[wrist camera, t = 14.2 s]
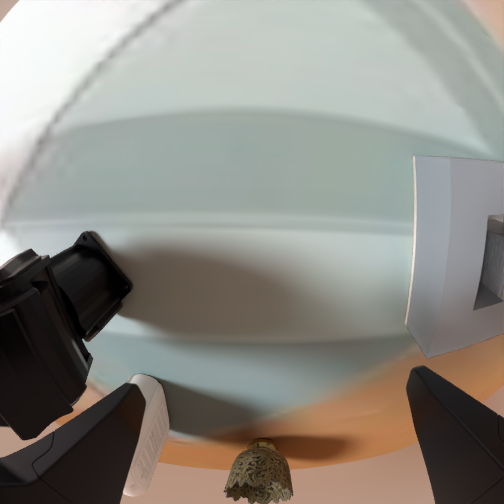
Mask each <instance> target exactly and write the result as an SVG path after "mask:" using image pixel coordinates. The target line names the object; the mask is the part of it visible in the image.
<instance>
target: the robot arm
mask: <svg viewBox="0 0 504 504" xmlns="http://www.w3.org/2000/svg"><path fill="white" fill-rule="evenodd" d="M85 236H86V237H87V239H86V237H85ZM125 285H127V286H128V288H127V287H126V286H125ZM132 289H133V285H132V283H131V282H130V281H129V280H128V278H127V277H126V276H125V275H124V274H123V273H122V271H121V270H120V269H119V268H118V267H117V266H116V264H115V263H114V262H113V261H112V260H111V258H110V257H109V256H108V255H107V254H106V252H105V251H104V250H103V249H102V247H101V246H100V245H99V244H98V242H97V241H96V240H95V239H94V237H93V236H92V235H91V233H90V232H88V231H85V232H83V233H82V234H81V235H80V236H79V238H78V239H77V241H76V242H75V244H74V245H73V246H71V247H69V248H68V249H66V250H64V251H62V252H60V253H59V254H57V255H55V256H53V257H52V258H50V257H49V255H45V256H38V254H36V253H35V252H34V251H33V250H32V249H28V250H26V251H24V252H22V253H20V254H18V255H16V256H15V257H13V258H11V259H10V260H8V261H7V262H6V263H4V264H3V265H2V266H1V267H0V427H11V428H12V430H13V431H14V432H15V433H16V434H17V435H18V436H19V437H20V438H21V439H22V440H29V439H33V438H36V437H37V436H38V435H39V434H40V433H41V432H42V431H43V430H44V429H45V428H46V427H47V426H49V425H50V424H51V423H52V422H54V421H55V420H57V419H58V418H60V417H62V416H64V415H67V414H69V413H72V412H73V410H74V409H73V408H72V406H73V405H74V404H75V403H76V402H77V401H78V400H79V399H80V397H81V396H82V395H83V393H84V392H85V390H86V388H87V385H86V384H85V383H86V379H87V376H88V373H89V370H90V367H91V364H92V361H93V358H92V356H91V354H90V353H89V352H88V351H87V349H86V347H85V345H84V343H83V341H82V339H84V340H85V341H86V342H89V341H90V340H92V339H93V338H94V337H95V336H96V335H97V334H98V333H99V332H100V331H101V330H102V329H103V328H104V327H105V325H106V324H107V323H108V322H109V321H110V320H111V319H112V318H113V317H114V315H115V314H116V313H117V312H118V311H119V310H120V309H121V308H122V307H123V303H122V302H121V300H122V299H123V298H124V297H125V296H126V295H127V294H128V293H129V292H130V291H131V290H132ZM406 391H407V396H408V400H409V404H410V409H411V414H412V418H413V423H414V428H415V431H416V435H417V438H418V441H419V444H420V447H421V451H422V454H423V457H424V461H425V464H426V468H427V471H428V475H429V479H430V483H431V487H432V491H433V495H434V500H435V504H504V418H503V417H502V416H500V415H498V414H497V413H496V412H494V411H493V410H491V409H489V408H488V407H486V406H485V405H483V404H482V403H480V402H479V401H477V400H476V399H474V398H473V397H471V396H470V395H468V394H467V393H465V392H464V391H462V390H461V389H459V388H458V387H456V386H455V385H453V384H452V383H450V382H449V381H447V380H445V379H444V378H442V377H441V376H439V375H438V374H436V373H435V372H433V371H432V370H430V369H429V368H427V367H426V366H423V365H422V366H418V367H414V368H413V369H412V370H411V372H410V376H409V379H408V382H407V386H406ZM145 408H146V400H145V397H144V395H143V394H142V392H141V390H140V388H139V386H138V385H137V384H135V383H125V384H123V385H122V386H120V387H119V388H117V389H116V390H115V391H113V392H112V393H110V394H109V395H107V396H106V397H104V398H103V399H101V400H100V401H98V402H97V403H96V404H94V405H93V406H91V407H90V408H88V409H87V410H85V411H84V412H82V413H81V414H79V415H78V416H76V417H75V418H73V419H72V420H70V421H69V422H67V423H65V424H64V425H62V426H61V427H59V428H58V429H56V430H55V431H53V432H52V433H50V434H48V435H47V436H45V437H44V438H42V439H40V440H38V441H37V442H35V443H33V444H31V445H29V446H27V447H26V448H23V449H21V450H19V451H17V452H15V453H13V454H10V455H8V456H6V457H2V458H0V504H120V501H121V497H122V494H123V490H124V487H125V483H126V480H127V477H128V473H129V470H130V467H131V463H132V460H133V457H134V454H135V451H136V447H137V444H138V441H139V437H140V432H141V427H142V422H143V417H144V412H145Z"/></svg>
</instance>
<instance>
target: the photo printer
mask: <svg viewBox="0 0 504 504" xmlns="http://www.w3.org/2000/svg"><path fill="white" fill-rule="evenodd" d="M126 383H135V384H137V385H138V386H139V388H140V390H141V392H142V394H143V395H144V397H145V400H146V408H145V412H144V417H143V422H142V427H141V432H140V437H139V441H138V444H137V447H136V451H135V454H134V457H133V460H132V463H131V467H130V470H129V473H128V477H127V480H126V483H125V487H124V490H123V493H124V494H126V495H128V496H139V495H142V494H143V493H145V492H146V491H147V489H148V487H149V485H150V482H151V479H152V476H153V473H154V471H155V468H156V465H157V462H158V460H159V457H160V454H161V451H162V449H163V446H164V443H165V441H166V438H167V435H168V432H169V426H170V424H169V417H168V411H167V406H166V401H165V396H164V391H163V388H162V385H161V384H160V383H158V381H157V380H156V379H154V378H152V377H150V376H147V375H143V374H137V375H135V376H131V377H130V378H129V379H128V380H127V382H126Z"/></svg>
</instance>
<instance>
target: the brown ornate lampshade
mask: <svg viewBox="0 0 504 504" xmlns="http://www.w3.org/2000/svg"><path fill="white" fill-rule="evenodd" d="M277 449H278V448H277V445H276V444H275V443H274V442H273V441H271V440H268V439H256V440H253V441H251V442H250V443H249V445H248V446H247V450H245V451H244V452H242V453H241V454H239V455H238V457H237V458H236V459H235V461H234V463H233V466H232V468H231V471H230V474H229V478H228V481H227V484H226V487H225V489H226V490H225V491H224V492H226V497H227V498H229V497H232V498H233V500H234V501H237V500H239V498H240V496H242V497H243V498H245V497H246V498H248V502H249V503H250V504H253V503H254V502H255V501H256V502H257V503H259V504H268V503H269V502H270V501H272V500H273V501H274V502H275V503H278V502H279V498H281V500H282V501H286V500H287V499H289V500H290V497H291V494H292V496H293V490H292V482H291V475H290V469H289V465H288V462H287V460H286V458H285V457H284V456H283V455H282V454H281V453H280V452H278V451H277Z"/></svg>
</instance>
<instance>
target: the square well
mask: <svg viewBox="0 0 504 504" xmlns="http://www.w3.org/2000/svg"><path fill="white" fill-rule="evenodd" d="M412 159H413V175H414V242H413V258H412V270H411V281H410V289H409V297H408V305H407V311H406V318H405V325H406V327H407V328H408V330H409V331H410V333H411V334H412V336H413V337H414V339H415V341H416V342H417V344H418V345H419V347H420V348H421V350H422V352H423V353H424V355H425V357H426V358H427V359H428V358H432V357H435V356H439V355H442V354H446V353H449V352H452V351H455V350H459V349H462V348H465V347H468V346H471V345H474V344H476V343H479V342H482V341H485V340H487V339H490V338H493V337H495V336H498V335H500V334H503V333H504V301H503V300H502V299H501V298H499V297H498V296H497V295H496V294H495V293H493V292H492V291H491V290H490V289H488V288H487V287H486V286H485V285H483V284H482V283H481V282H480V276H481V270H482V264H483V257H484V250H485V242H486V233H487V221H488V219H496V220H498V221H500V222H503V223H504V162H501V161H492V160H482V159H471V158H457V157H438V156H412Z"/></svg>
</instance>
